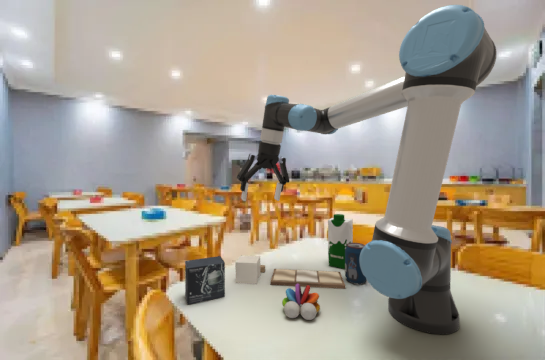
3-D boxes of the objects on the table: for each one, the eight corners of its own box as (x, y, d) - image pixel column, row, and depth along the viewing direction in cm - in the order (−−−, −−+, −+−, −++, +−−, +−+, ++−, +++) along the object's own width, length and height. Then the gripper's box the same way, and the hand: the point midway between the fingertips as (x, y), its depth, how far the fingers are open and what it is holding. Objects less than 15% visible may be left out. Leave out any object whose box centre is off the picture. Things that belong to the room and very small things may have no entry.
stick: (264, 272, 89) (264, 267, 89) (240, 271, 90) (240, 266, 90) (265, 270, 91) (265, 265, 91) (241, 269, 92) (241, 264, 92)
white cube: (256, 284, 79) (256, 263, 79) (235, 283, 80) (235, 262, 80) (260, 275, 86) (260, 256, 86) (241, 274, 87) (240, 255, 87)
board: (345, 288, 76) (345, 284, 76) (270, 284, 79) (270, 280, 79) (340, 274, 87) (340, 270, 87) (274, 271, 90) (274, 267, 90)
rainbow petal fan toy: (319, 324, 58) (319, 294, 58) (279, 319, 60) (279, 290, 60) (320, 305, 66) (320, 279, 66) (284, 302, 68) (284, 276, 68)
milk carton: (325, 266, 94) (325, 214, 94) (333, 259, 102) (333, 211, 102) (348, 271, 90) (348, 216, 89) (354, 263, 97) (354, 213, 97)
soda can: (363, 276, 85) (363, 242, 84) (369, 285, 78) (369, 248, 78) (343, 275, 85) (343, 241, 85) (347, 284, 79) (347, 247, 78)
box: (187, 306, 66) (186, 268, 66) (184, 295, 72) (184, 260, 72) (225, 297, 71) (225, 261, 71) (220, 288, 77) (220, 255, 77)
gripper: (294, 144, 94) (284, 196, 99) (232, 136, 82) (224, 196, 87) (305, 147, 88) (294, 203, 93) (240, 139, 75) (231, 203, 80)
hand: (260, 199), depth 90 cm, fingers open, 13 cm apart
